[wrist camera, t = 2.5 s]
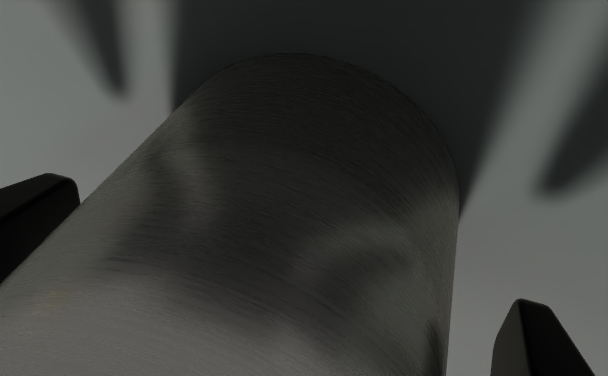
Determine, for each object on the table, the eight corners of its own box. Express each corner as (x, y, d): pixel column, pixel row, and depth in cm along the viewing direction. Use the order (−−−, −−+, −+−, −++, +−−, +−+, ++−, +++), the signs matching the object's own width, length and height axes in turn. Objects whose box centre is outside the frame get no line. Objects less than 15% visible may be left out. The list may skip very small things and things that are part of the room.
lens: (509, 91, 7) (559, 976, 2) (420, 331, 10) (341, 929, 5) (160, 18, 8) (-531, 479, 3) (174, 261, 11) (-131, 708, 6)
